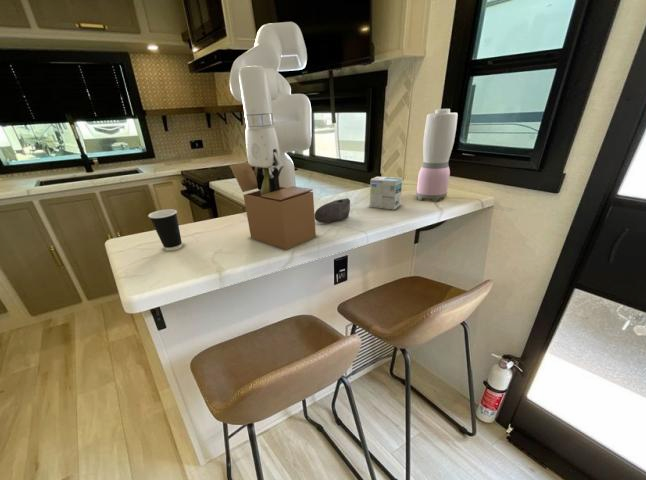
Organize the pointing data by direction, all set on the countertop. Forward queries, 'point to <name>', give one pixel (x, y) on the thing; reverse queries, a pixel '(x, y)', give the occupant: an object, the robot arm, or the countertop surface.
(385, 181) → the light bulb box
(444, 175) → the blender
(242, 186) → the flap
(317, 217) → the perforated stone tool
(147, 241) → the countertop surface
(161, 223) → the dixie cup
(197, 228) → the countertop surface
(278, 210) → the carton
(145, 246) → the countertop surface
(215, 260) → the countertop surface
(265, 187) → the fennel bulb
